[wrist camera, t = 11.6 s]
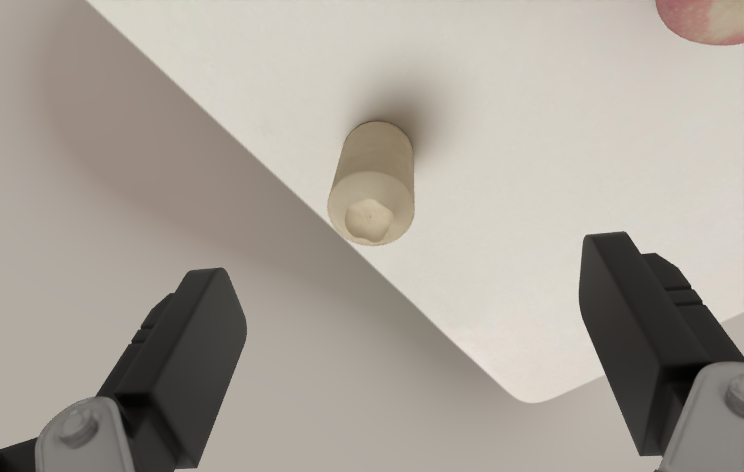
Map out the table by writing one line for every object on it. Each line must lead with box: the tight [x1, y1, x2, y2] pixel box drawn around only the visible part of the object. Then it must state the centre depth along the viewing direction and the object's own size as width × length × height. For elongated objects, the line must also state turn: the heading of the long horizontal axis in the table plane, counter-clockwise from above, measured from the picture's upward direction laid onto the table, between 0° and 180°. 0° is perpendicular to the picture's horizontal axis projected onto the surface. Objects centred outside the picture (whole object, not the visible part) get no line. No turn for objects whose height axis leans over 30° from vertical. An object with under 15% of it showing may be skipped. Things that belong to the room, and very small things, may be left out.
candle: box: [328, 121, 415, 246], centre depth 34 cm, size 6×6×10 cm
